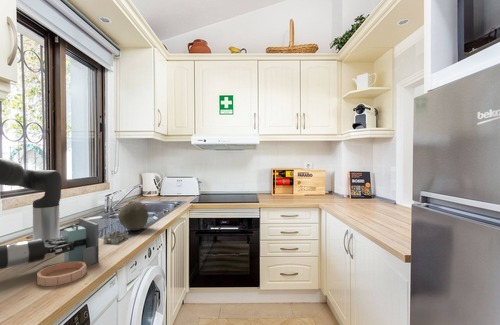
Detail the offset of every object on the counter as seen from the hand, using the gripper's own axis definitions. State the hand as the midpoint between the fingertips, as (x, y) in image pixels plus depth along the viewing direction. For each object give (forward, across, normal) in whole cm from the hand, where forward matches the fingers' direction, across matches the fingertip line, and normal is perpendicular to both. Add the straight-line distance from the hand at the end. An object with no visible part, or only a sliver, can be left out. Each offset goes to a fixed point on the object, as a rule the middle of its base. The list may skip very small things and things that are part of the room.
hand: (82, 240), depth 98 cm
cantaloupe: (+32, +24, +7) cm, 40 cm away
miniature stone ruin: (+18, +14, +8) cm, 24 cm away
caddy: (-3, 0, +7) cm, 7 cm away
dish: (-10, -12, +7) cm, 17 cm away
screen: (0, 0, +7) cm, 7 cm away
